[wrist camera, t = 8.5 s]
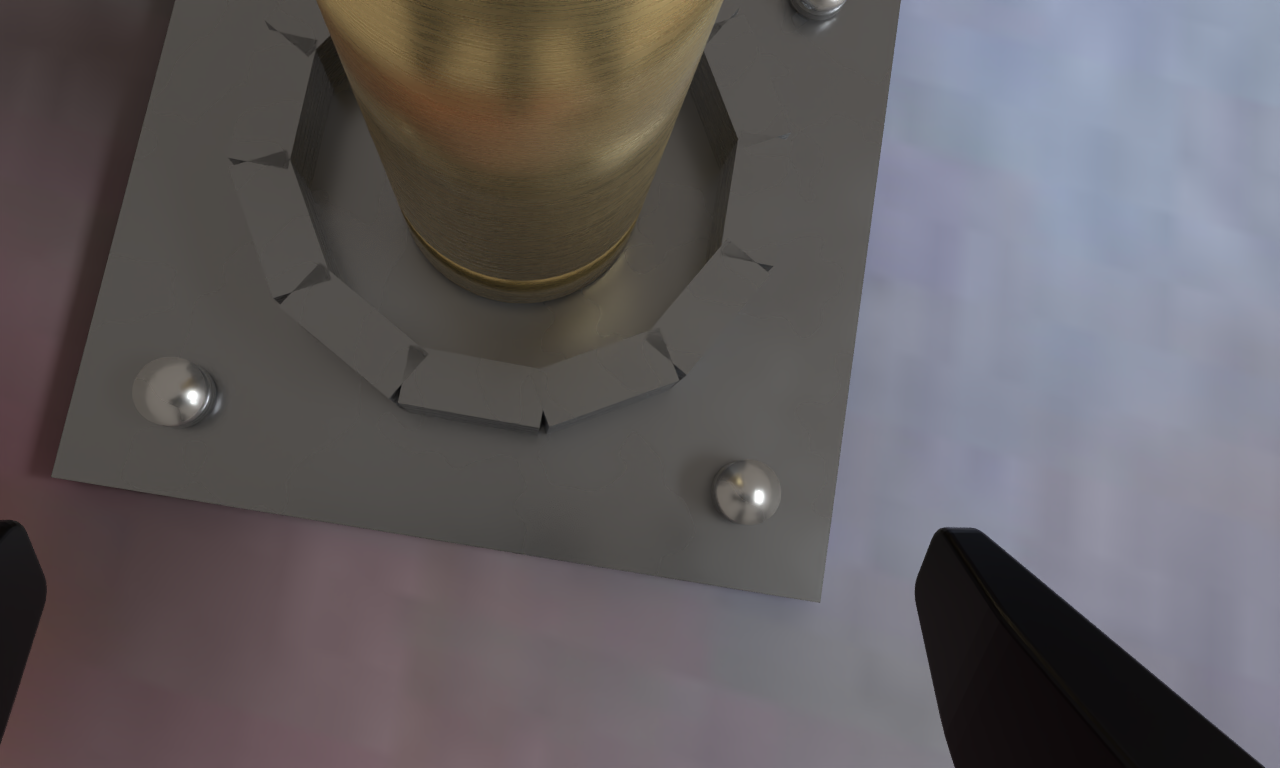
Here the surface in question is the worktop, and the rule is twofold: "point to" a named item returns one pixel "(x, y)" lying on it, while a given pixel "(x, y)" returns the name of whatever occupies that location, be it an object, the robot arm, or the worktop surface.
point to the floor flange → (494, 313)
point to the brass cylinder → (520, 125)
